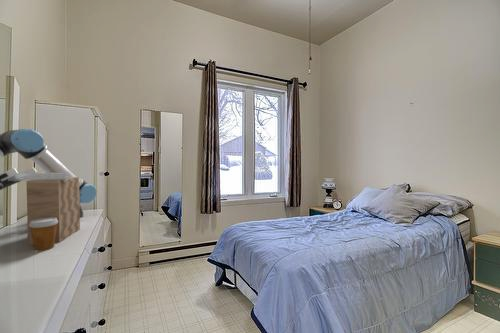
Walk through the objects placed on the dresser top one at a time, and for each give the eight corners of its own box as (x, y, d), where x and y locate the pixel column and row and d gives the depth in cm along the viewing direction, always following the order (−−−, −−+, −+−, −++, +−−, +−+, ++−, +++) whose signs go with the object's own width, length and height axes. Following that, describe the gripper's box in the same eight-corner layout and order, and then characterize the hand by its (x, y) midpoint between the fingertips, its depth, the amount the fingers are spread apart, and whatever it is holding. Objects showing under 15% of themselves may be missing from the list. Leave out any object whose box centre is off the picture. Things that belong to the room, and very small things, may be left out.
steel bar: (13, 180, 112) (13, 173, 112) (69, 179, 118) (69, 172, 118) (7, 180, 109) (7, 174, 109) (65, 179, 114) (65, 173, 114)
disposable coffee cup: (64, 245, 107) (63, 218, 107) (39, 253, 98) (38, 223, 98) (49, 243, 110) (48, 216, 110) (23, 250, 101) (23, 221, 101)
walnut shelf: (53, 231, 130) (52, 177, 129) (80, 229, 133) (79, 177, 132) (27, 244, 108) (26, 180, 108) (59, 242, 111) (58, 180, 111)
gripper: (2, 198, 120) (46, 175, 124) (-45, 207, 96) (12, 179, 100) (-8, 184, 119) (37, 162, 123) (-57, 190, 95) (0, 163, 99)
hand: (26, 170), depth 112 cm, fingers open, 13 cm apart
